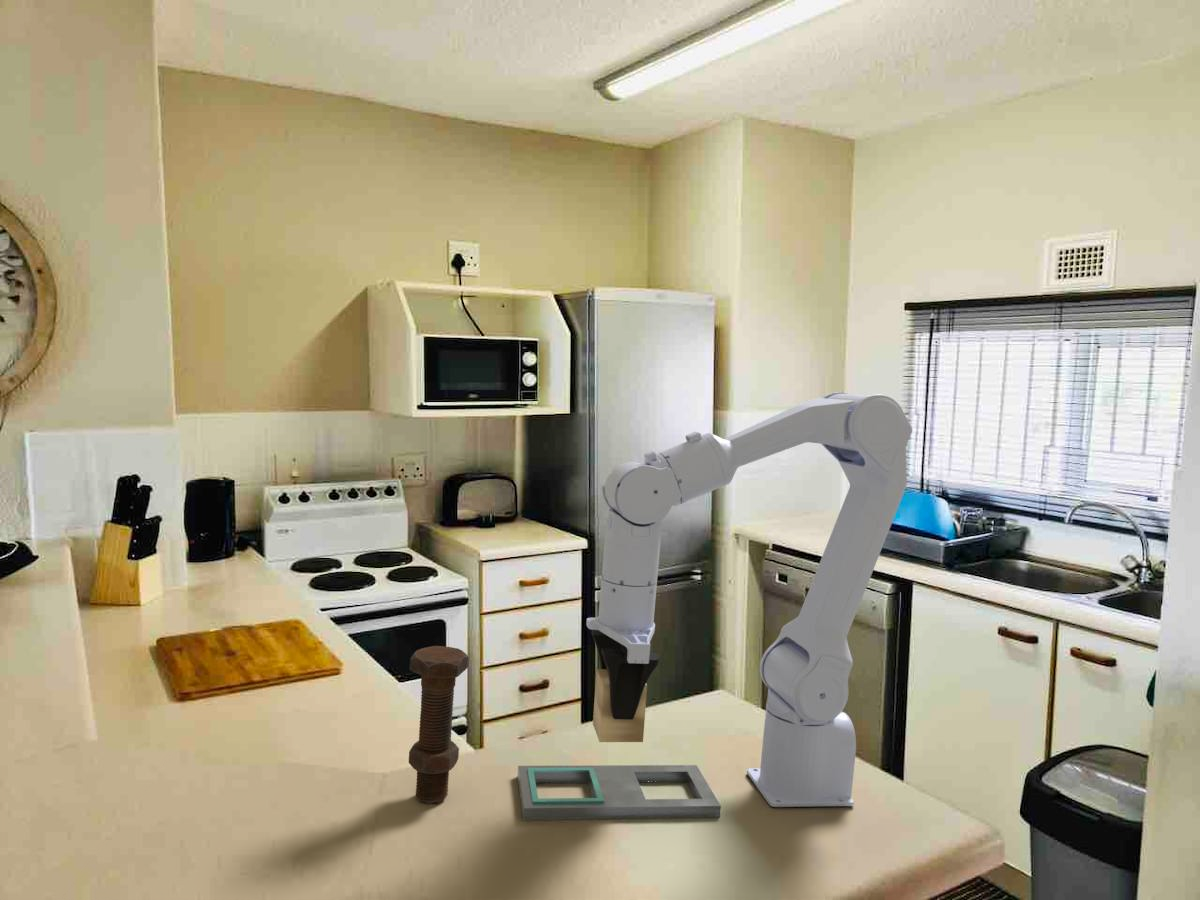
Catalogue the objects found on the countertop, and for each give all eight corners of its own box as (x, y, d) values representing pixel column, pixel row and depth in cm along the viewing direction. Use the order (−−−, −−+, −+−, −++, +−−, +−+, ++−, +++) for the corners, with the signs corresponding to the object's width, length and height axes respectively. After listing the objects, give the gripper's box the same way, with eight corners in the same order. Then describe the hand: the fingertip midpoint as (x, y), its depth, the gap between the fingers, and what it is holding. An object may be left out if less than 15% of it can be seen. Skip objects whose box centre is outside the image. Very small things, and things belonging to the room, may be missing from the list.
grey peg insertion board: (695, 775, 94) (696, 763, 94) (719, 817, 86) (721, 804, 85) (517, 776, 91) (518, 764, 91) (523, 820, 82) (524, 806, 82)
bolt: (443, 816, 82) (452, 666, 81) (395, 807, 83) (404, 659, 82) (465, 789, 88) (474, 648, 86) (419, 781, 89) (427, 642, 87)
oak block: (634, 724, 90) (638, 669, 90) (643, 742, 86) (647, 684, 85) (592, 724, 90) (596, 669, 89) (599, 742, 85) (603, 684, 85)
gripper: (581, 562, 93) (571, 681, 94) (602, 596, 79) (590, 737, 80) (643, 565, 94) (633, 683, 95) (675, 599, 80) (663, 738, 81)
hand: (618, 708), depth 87 cm, fingers closed on oak block, 4 cm apart
